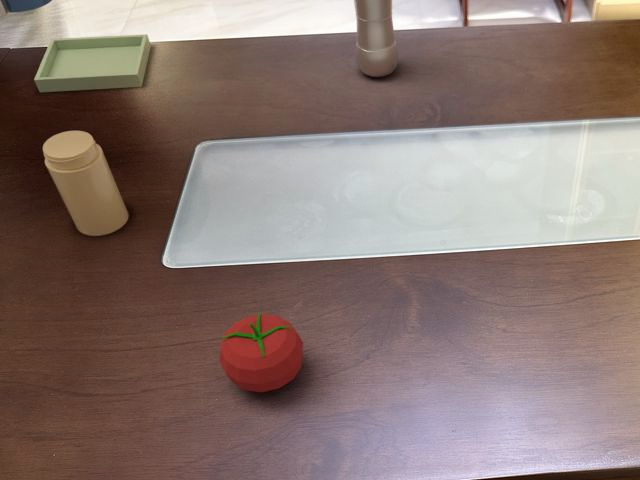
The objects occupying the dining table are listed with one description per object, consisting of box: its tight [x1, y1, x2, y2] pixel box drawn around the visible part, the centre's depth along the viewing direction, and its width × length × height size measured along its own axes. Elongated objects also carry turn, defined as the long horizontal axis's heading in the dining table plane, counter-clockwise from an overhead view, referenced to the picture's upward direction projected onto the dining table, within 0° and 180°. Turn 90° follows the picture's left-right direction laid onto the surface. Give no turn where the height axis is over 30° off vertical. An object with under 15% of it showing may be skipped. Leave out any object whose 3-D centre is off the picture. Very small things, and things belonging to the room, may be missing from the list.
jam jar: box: [42, 130, 130, 237], centre depth 83 cm, size 6×6×11 cm
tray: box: [33, 34, 152, 93], centre depth 109 cm, size 14×12×2 cm
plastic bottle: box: [353, 0, 399, 78], centre depth 104 cm, size 6×7×20 cm
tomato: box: [219, 310, 304, 393], centre depth 70 cm, size 8×8×8 cm
